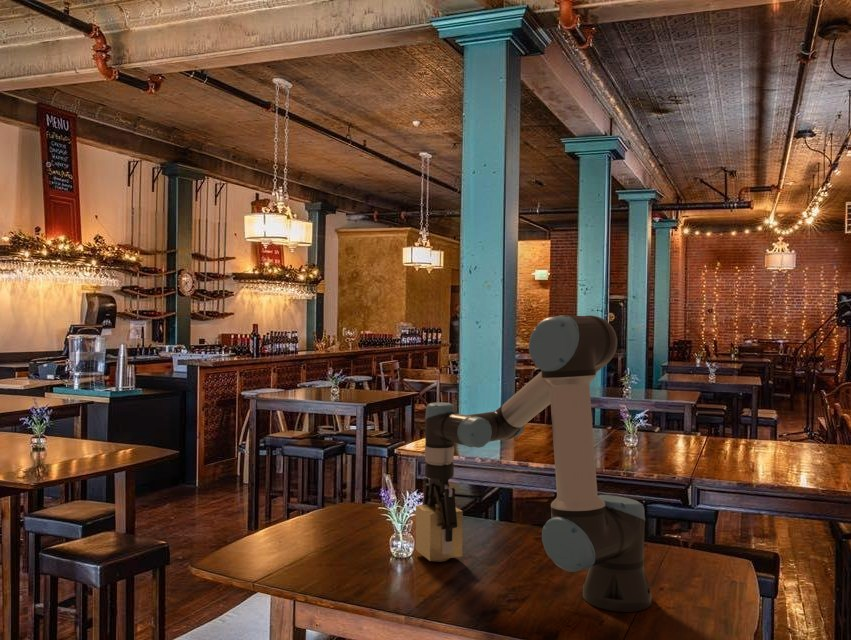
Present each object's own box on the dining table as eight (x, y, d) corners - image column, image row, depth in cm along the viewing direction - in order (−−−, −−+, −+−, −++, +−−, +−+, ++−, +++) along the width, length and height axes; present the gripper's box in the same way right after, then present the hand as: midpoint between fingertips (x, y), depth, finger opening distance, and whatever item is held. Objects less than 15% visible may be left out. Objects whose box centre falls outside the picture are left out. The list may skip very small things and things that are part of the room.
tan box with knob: (462, 556, 192) (462, 506, 191) (430, 561, 188) (430, 510, 188) (446, 545, 200) (447, 497, 200) (415, 549, 196) (416, 501, 196)
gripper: (471, 469, 185) (470, 558, 186) (434, 453, 205) (434, 533, 206) (444, 472, 182) (443, 562, 182) (409, 455, 202) (409, 536, 202)
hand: (438, 547), depth 194 cm, fingers closed on tan box with knob, 9 cm apart
